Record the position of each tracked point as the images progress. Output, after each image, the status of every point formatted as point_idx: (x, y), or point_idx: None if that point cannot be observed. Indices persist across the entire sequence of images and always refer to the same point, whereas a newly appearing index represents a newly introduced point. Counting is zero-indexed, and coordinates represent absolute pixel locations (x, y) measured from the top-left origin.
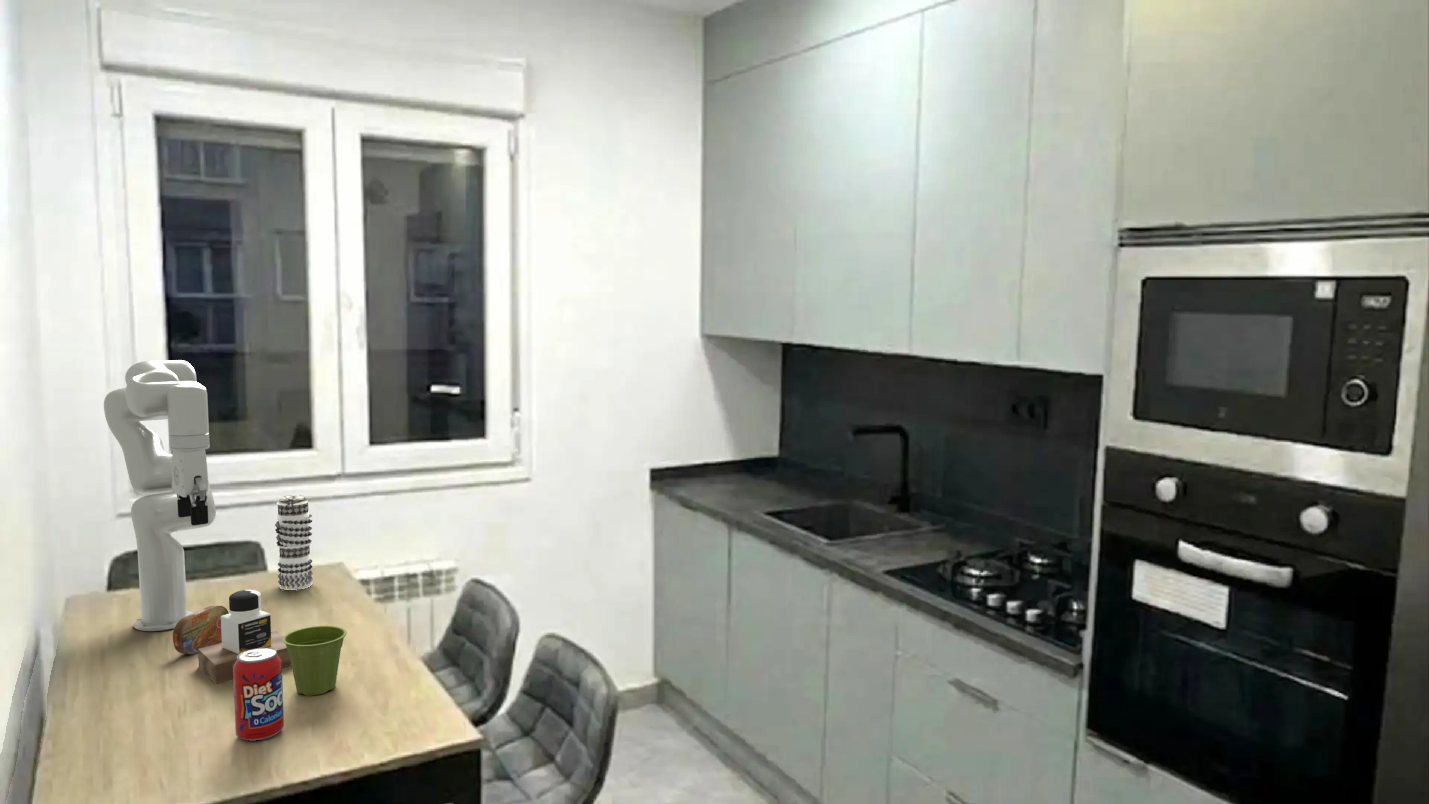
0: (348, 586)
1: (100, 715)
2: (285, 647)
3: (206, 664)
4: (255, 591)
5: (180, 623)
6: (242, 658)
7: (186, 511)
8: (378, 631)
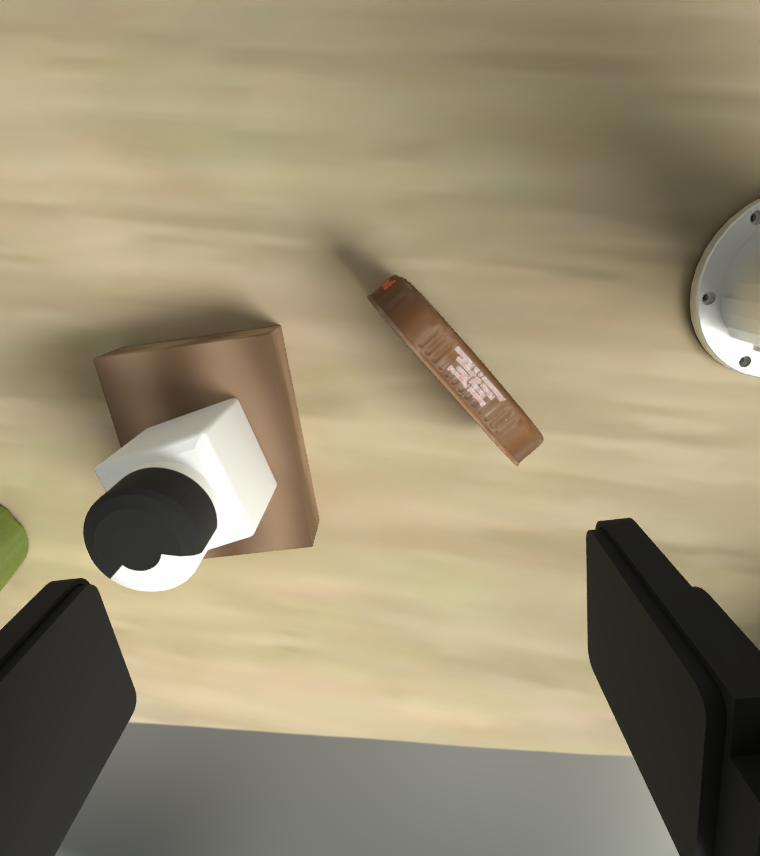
0: None
1: (9, 27)
2: None
3: (193, 341)
4: (137, 583)
5: (406, 307)
6: None
7: (610, 633)
8: (310, 722)
